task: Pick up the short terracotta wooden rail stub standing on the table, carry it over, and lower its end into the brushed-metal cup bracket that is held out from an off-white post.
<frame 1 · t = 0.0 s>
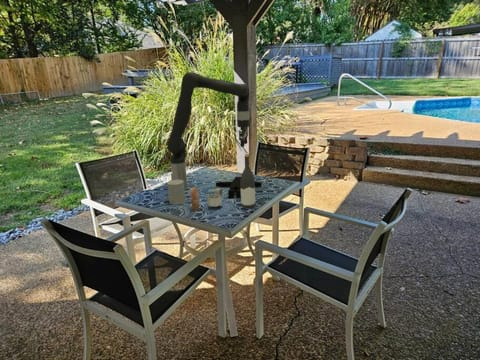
hand: (244, 145, 194), 29 cm above the table, tool pointing down, fingers open, 8 cm apart
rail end: (195, 209, 177), on the table
wine bottle: (248, 205, 180), on the table
speckled stone cylinder: (177, 201, 189), on the table
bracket: (214, 207, 178), on the table
toy: (237, 190, 205), on the table
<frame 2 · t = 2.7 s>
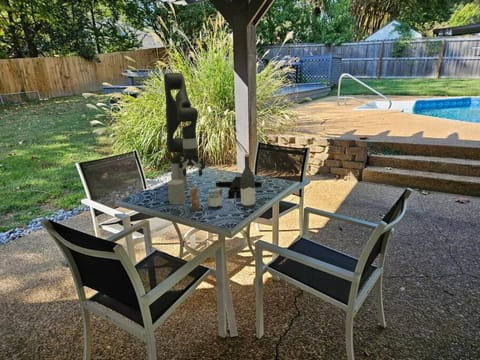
hand: (192, 175, 171), 19 cm above the table, tool pointing down, fingers open, 8 cm apart
nothing on the table moved.
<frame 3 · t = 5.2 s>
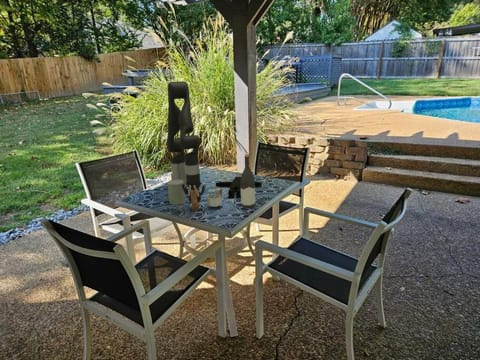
hand: (195, 201, 175), 4 cm above the table, tool pointing down, fingers closed on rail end, 4 cm apart
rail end: (195, 209, 177), on the table, touching gripper
everything else where it was.
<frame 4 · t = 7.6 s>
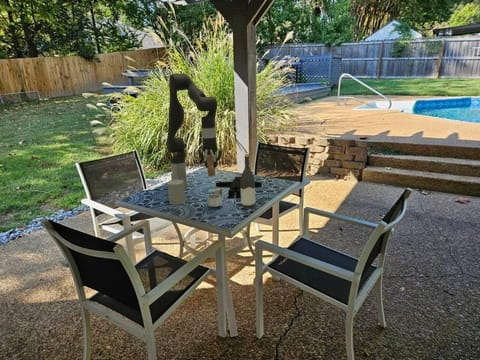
hand: (211, 167, 171), 23 cm above the table, tool pointing down, fingers closed on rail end, 4 cm apart
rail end: (211, 175, 172), point 19 cm above the table, touching gripper
everything else where it was.
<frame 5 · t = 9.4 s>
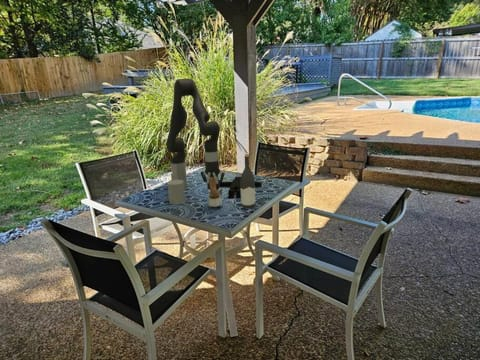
hand: (213, 189, 175), 11 cm above the table, tool pointing down, fingers closed on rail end, 4 cm apart
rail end: (214, 196, 176), point 6 cm above the table, touching gripper
everything else where it was.
when the fingers open (9 cm above the table, at t = 10.5 s): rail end drops 1 cm, resting on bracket.
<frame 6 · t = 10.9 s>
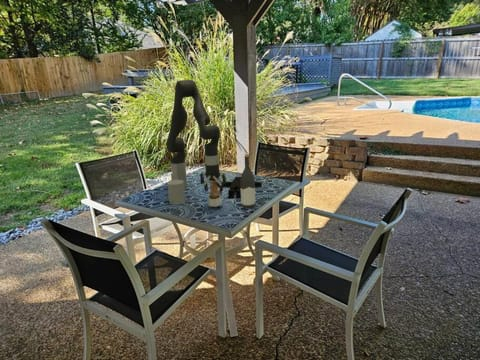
hand: (213, 191, 175), 10 cm above the table, tool pointing down, fingers open, 8 cm apart
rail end: (214, 202, 177), point 3 cm above the table, touching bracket
everything else where it was.
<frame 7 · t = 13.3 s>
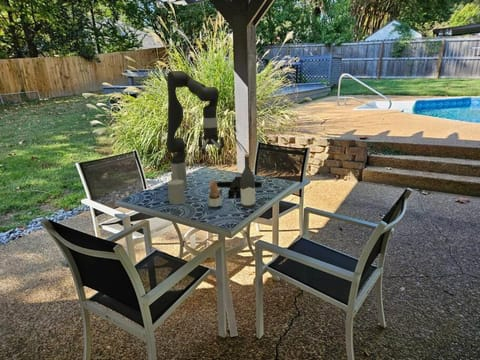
hand: (211, 155, 174), 29 cm above the table, tool pointing down, fingers open, 8 cm apart
nothing on the table moved.
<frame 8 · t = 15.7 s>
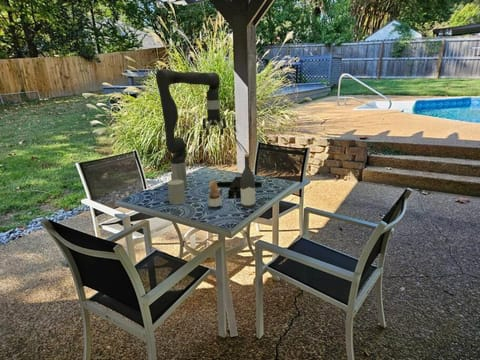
hand: (215, 135, 192), 36 cm above the table, tool pointing down, fingers open, 8 cm apart
nothing on the table moved.
at the end: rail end 0.0 cm off-centre on the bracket, point 3.0 cm above the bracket's base; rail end tilted 0°; the gripper is holding nothing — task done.
